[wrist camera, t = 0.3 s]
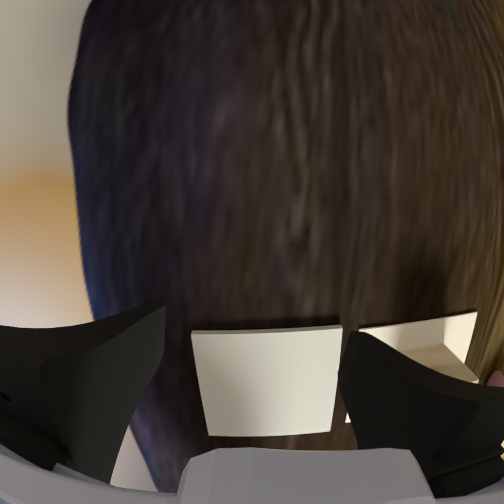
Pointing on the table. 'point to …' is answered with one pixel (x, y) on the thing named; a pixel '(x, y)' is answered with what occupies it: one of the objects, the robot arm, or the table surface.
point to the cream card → (428, 334)
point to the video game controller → (496, 379)
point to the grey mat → (268, 379)
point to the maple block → (442, 361)
